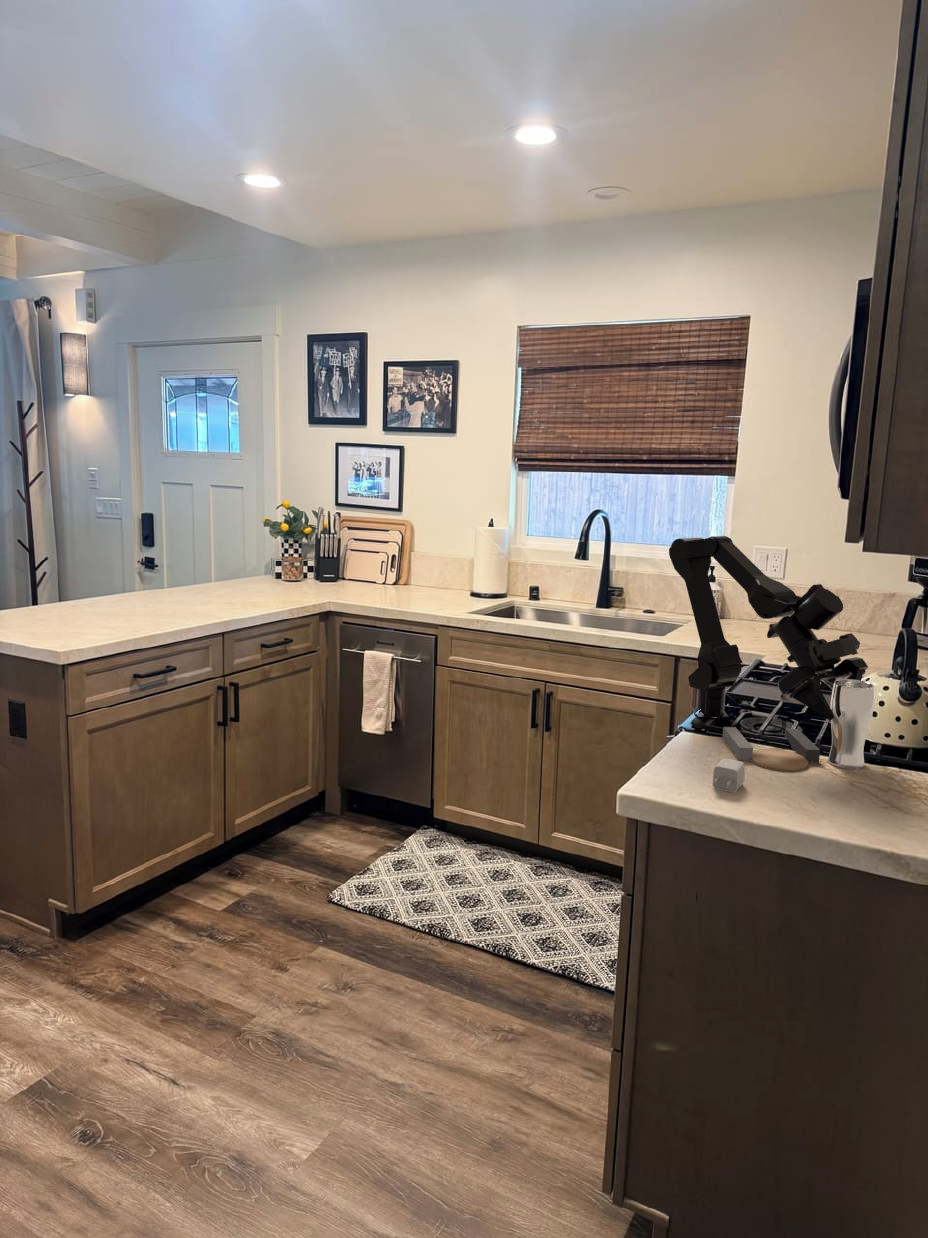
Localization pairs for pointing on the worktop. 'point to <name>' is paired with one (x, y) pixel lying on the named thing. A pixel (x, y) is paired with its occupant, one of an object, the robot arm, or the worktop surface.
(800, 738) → the long grey square rod
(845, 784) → the worktop surface
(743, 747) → the grey square beam
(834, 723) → the silver metal cup
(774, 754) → the coaster
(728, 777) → the usb wall charger
